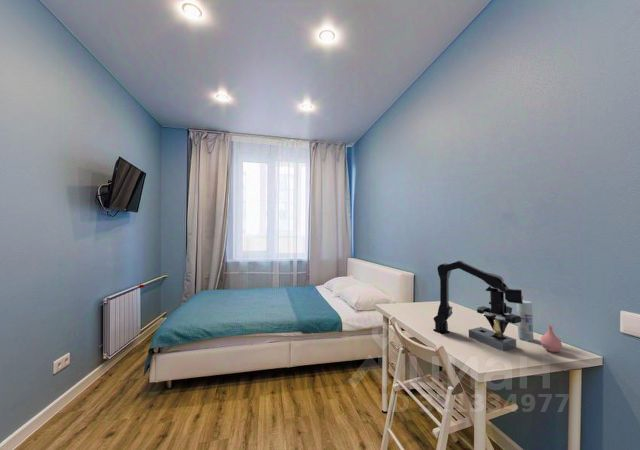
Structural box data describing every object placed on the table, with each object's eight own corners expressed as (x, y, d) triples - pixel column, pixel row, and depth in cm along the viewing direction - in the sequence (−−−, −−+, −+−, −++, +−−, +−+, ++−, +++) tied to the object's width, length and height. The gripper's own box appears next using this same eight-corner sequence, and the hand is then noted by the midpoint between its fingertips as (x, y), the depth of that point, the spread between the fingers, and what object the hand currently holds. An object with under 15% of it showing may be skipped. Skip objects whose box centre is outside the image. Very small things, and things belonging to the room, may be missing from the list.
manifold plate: (503, 351, 120) (502, 342, 120) (468, 337, 136) (468, 329, 137) (516, 347, 123) (515, 339, 124) (481, 334, 140) (481, 326, 140)
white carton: (524, 335, 137) (522, 299, 137) (537, 340, 130) (535, 302, 131) (515, 337, 135) (513, 300, 136) (527, 342, 129) (525, 303, 129)
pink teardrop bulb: (549, 346, 123) (548, 322, 124) (567, 354, 116) (565, 328, 116) (536, 348, 122) (535, 323, 123) (553, 355, 115) (551, 329, 115)
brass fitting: (500, 337, 124) (499, 321, 124) (492, 334, 128) (491, 318, 128) (505, 336, 125) (504, 320, 126) (497, 333, 129) (496, 317, 129)
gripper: (527, 303, 121) (529, 335, 121) (489, 294, 139) (490, 322, 138) (513, 306, 117) (514, 339, 117) (475, 297, 135) (476, 325, 134)
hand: (498, 331), depth 127 cm, fingers closed on brass fitting, 4 cm apart
